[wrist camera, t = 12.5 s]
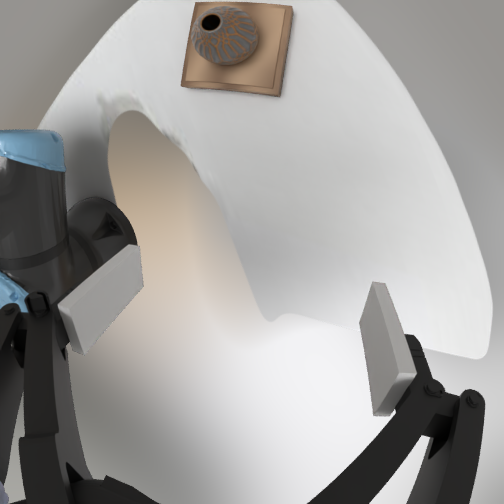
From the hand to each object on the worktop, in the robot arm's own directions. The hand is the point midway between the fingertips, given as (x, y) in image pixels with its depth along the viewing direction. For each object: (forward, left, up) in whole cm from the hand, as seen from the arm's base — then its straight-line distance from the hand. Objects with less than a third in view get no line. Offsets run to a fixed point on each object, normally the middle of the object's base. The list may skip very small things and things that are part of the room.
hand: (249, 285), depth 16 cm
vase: (-8, +17, -22) cm, 29 cm away
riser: (-8, +18, -25) cm, 31 cm away
